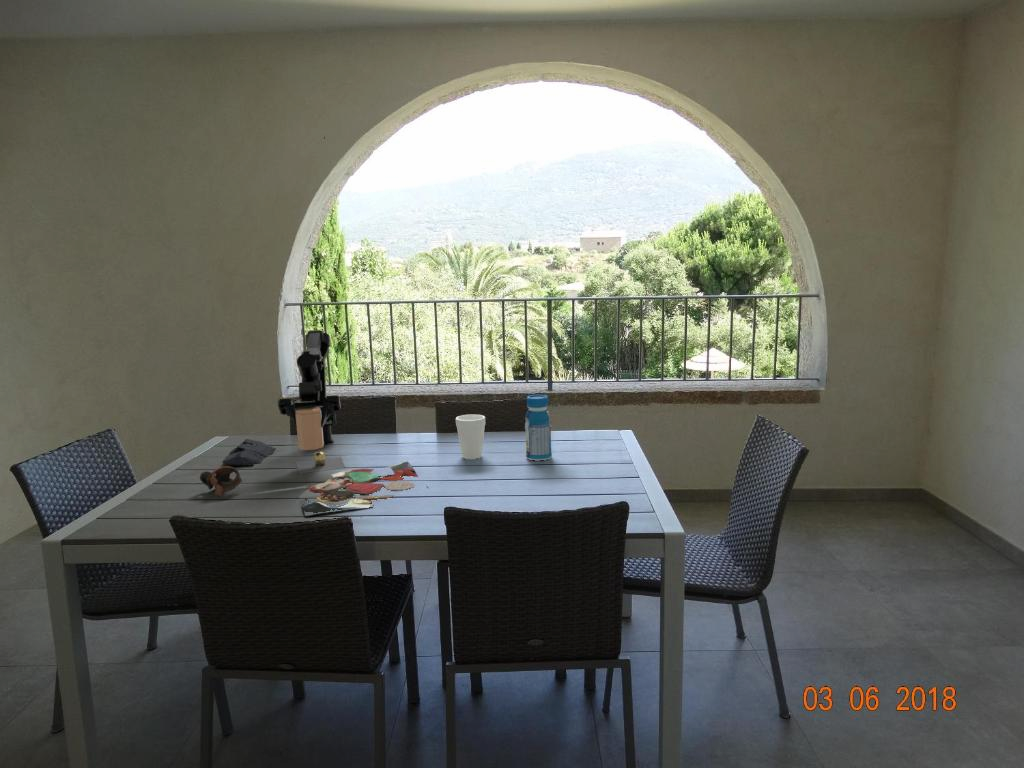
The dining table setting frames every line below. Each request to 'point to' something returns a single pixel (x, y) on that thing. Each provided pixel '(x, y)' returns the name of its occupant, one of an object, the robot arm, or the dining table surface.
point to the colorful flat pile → (358, 488)
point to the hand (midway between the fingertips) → (309, 427)
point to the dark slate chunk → (248, 453)
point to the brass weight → (319, 458)
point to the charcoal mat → (311, 466)
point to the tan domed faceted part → (309, 428)
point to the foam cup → (471, 435)
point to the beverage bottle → (538, 428)
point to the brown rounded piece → (221, 479)
